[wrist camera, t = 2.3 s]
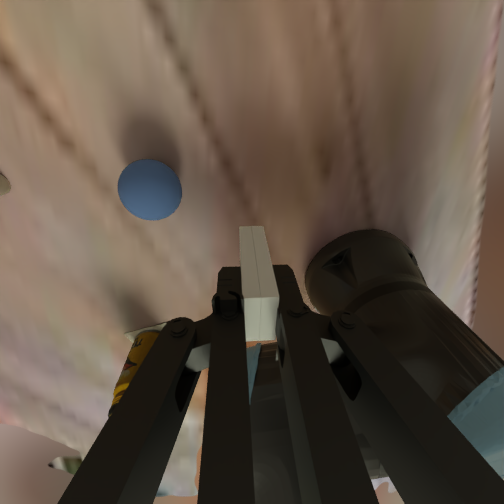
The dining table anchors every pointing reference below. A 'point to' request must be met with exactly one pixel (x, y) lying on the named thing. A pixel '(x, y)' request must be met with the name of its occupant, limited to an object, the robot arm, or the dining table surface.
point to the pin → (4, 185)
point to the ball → (149, 189)
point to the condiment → (135, 358)
